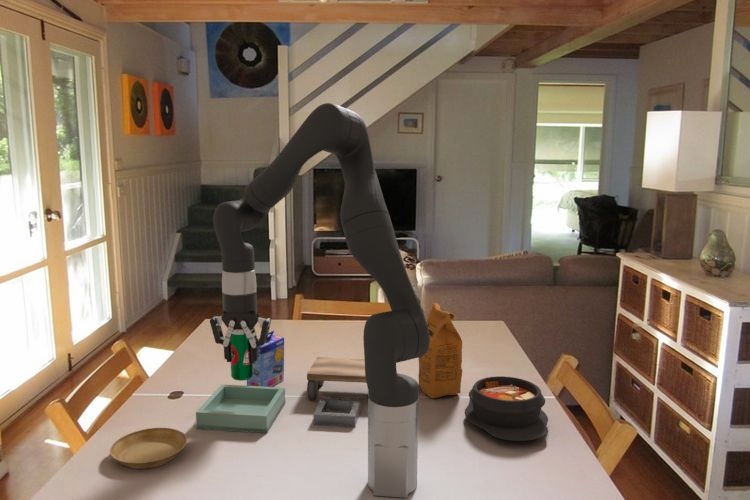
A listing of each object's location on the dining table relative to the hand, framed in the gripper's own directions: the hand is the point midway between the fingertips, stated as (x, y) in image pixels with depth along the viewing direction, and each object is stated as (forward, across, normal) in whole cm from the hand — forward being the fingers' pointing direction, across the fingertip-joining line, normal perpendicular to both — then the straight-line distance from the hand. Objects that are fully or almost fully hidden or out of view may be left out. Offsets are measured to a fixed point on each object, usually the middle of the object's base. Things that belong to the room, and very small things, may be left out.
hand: (241, 361), depth 143 cm
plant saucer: (+14, -13, -20) cm, 28 cm away
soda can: (+4, 0, 0) cm, 4 cm away
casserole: (+14, +60, +4) cm, 62 cm away
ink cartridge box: (+14, 0, +19) cm, 23 cm away
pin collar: (+13, +22, +2) cm, 26 cm away
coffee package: (+14, +45, +21) cm, 51 cm away
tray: (+13, 0, 0) cm, 13 cm away
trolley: (+13, +22, +16) cm, 30 cm away
